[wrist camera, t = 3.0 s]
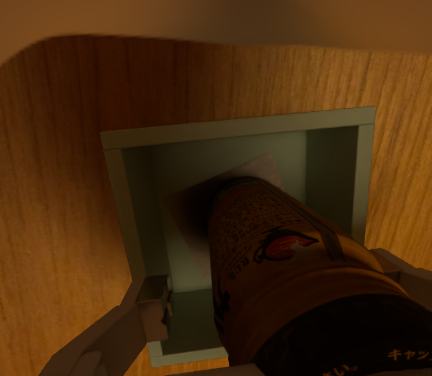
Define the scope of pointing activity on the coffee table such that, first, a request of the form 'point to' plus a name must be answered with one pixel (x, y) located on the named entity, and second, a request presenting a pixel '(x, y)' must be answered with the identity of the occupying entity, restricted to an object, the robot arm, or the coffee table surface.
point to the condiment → (295, 282)
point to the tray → (214, 165)
